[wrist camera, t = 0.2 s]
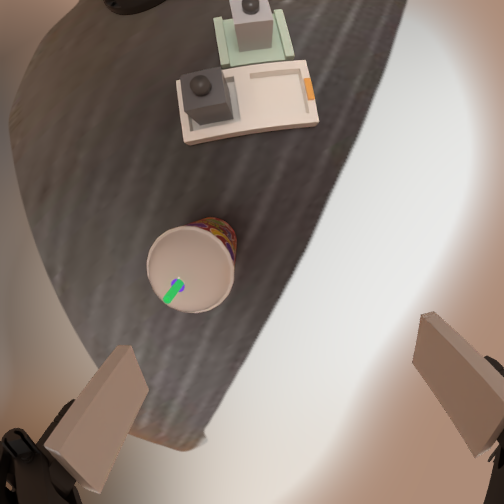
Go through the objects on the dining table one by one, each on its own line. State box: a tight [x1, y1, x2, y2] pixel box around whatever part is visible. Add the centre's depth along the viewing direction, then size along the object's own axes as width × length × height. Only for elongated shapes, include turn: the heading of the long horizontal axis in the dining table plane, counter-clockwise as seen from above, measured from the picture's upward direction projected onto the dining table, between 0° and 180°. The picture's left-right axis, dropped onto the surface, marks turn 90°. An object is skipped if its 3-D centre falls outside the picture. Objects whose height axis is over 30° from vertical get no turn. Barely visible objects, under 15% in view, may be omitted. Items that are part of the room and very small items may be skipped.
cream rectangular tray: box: [176, 60, 319, 145], centre depth 28 cm, size 9×17×10 cm, turn 99°
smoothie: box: [147, 217, 237, 313], centre depth 28 cm, size 8×8×20 cm
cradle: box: [213, 9, 295, 69], centre depth 30 cm, size 9×10×2 cm
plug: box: [229, 0, 273, 52], centre depth 26 cm, size 4×4×10 cm
